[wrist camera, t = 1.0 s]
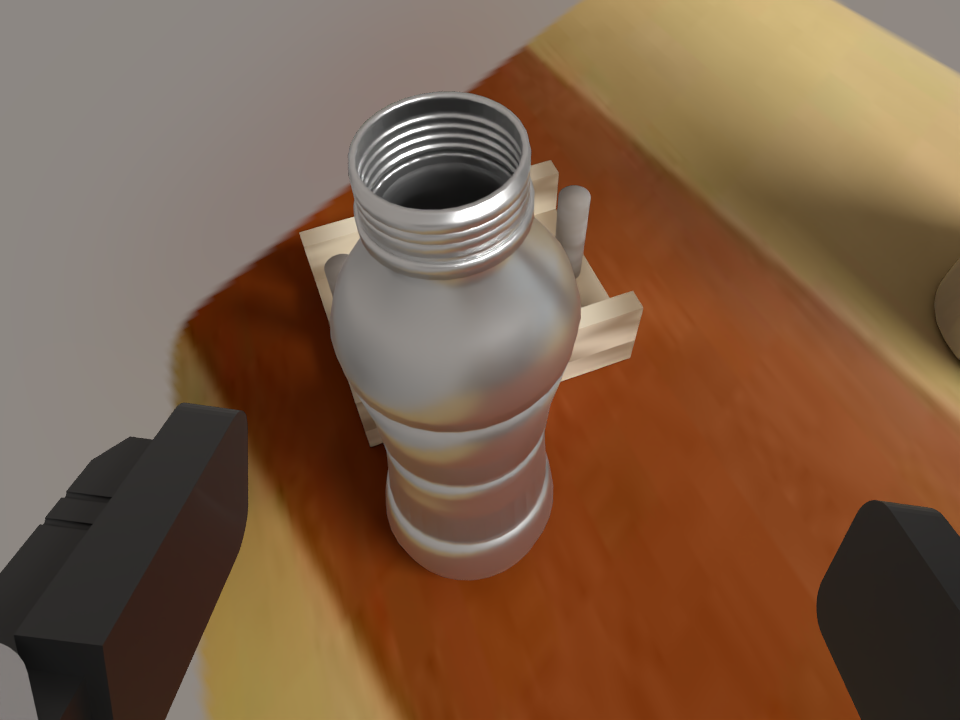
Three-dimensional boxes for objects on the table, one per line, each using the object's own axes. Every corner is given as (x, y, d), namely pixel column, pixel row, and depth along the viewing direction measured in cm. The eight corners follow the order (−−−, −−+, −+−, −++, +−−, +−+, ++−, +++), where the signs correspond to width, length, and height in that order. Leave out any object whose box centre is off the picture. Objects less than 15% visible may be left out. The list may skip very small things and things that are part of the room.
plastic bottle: (364, 505, 32) (210, 136, 15) (489, 420, 34) (476, 12, 17) (452, 629, 29) (383, 343, 12) (582, 527, 31) (677, 163, 14)
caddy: (546, 215, 41) (553, 119, 35) (629, 357, 36) (653, 270, 30) (316, 285, 38) (286, 194, 33) (370, 447, 33) (344, 371, 28)
